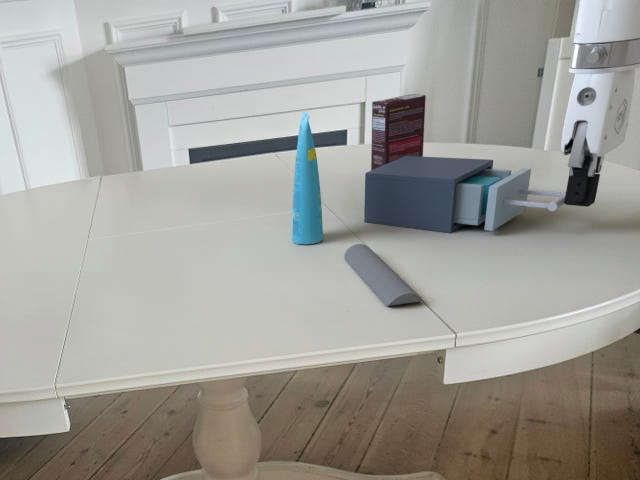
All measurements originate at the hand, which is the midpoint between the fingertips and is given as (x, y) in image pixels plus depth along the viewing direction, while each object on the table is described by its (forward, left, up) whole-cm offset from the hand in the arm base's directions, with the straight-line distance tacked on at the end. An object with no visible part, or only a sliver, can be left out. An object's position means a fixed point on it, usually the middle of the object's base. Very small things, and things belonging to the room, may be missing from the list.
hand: (579, 203), depth 86 cm
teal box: (+13, 0, -2) cm, 14 cm away
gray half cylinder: (+14, +27, -4) cm, 31 cm away
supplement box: (+37, -17, -4) cm, 41 cm away
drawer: (+12, 0, -3) cm, 12 cm away
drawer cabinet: (+22, 0, -4) cm, 22 cm away
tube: (+32, +18, -4) cm, 37 cm away
